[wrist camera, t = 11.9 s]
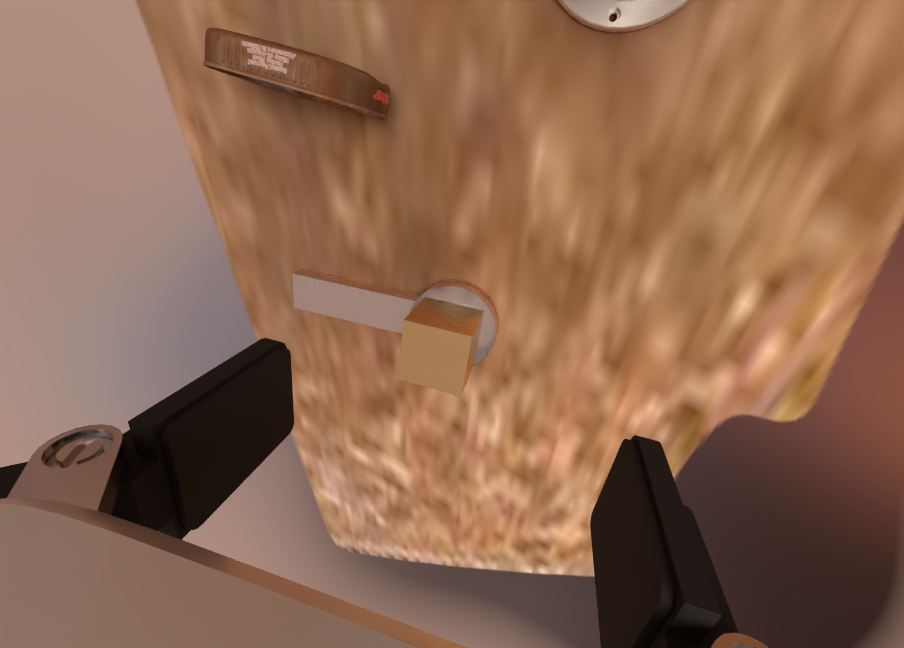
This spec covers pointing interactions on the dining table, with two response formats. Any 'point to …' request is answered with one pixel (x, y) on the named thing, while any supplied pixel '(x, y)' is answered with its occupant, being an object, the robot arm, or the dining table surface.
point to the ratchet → (388, 302)
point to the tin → (296, 72)
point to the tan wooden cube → (439, 345)
